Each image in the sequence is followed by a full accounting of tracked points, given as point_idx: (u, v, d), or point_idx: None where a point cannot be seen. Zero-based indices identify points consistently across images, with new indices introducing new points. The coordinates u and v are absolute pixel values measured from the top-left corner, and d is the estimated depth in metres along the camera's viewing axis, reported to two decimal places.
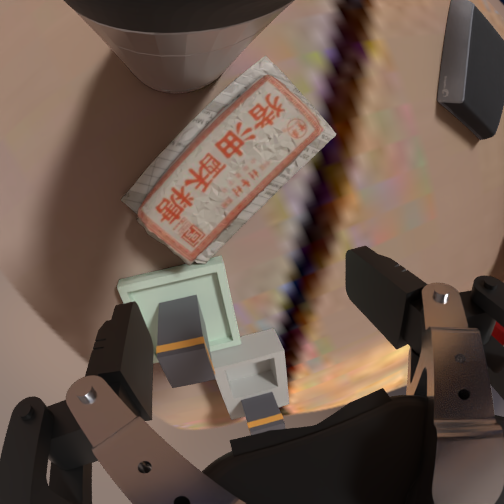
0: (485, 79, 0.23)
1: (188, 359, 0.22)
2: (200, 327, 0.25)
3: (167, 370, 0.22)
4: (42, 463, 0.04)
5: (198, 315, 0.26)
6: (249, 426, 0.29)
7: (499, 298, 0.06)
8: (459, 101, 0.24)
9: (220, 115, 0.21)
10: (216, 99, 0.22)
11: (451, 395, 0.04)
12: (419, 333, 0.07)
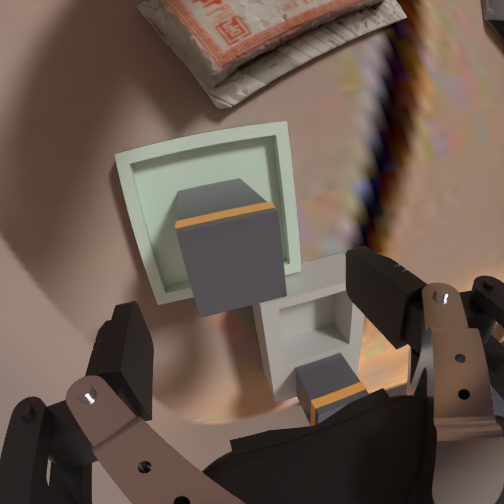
0: None
1: (242, 239, 0.12)
2: (259, 196, 0.14)
3: (195, 269, 0.12)
4: (42, 463, 0.04)
5: (250, 189, 0.15)
6: (316, 405, 0.18)
7: (499, 298, 0.06)
8: None
9: None
10: None
11: (451, 395, 0.04)
12: (419, 333, 0.07)
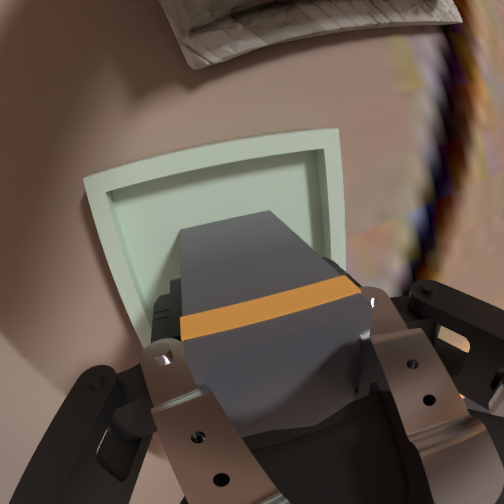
0: None
1: (307, 357, 0.06)
2: (318, 257, 0.08)
3: (221, 404, 0.06)
4: (97, 435, 0.05)
5: (296, 237, 0.10)
6: None
7: (444, 303, 0.07)
8: None
9: None
10: None
11: (416, 405, 0.04)
12: None
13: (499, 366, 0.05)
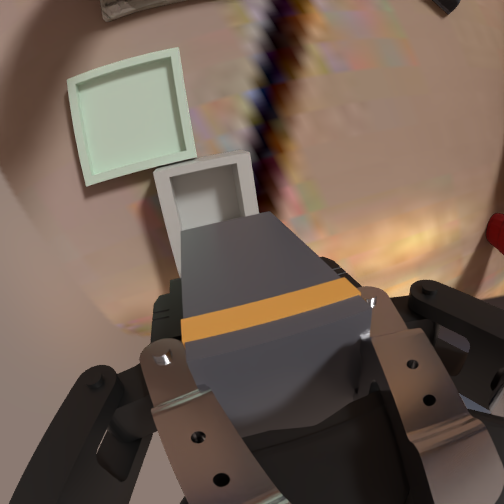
0: None
1: (307, 359, 0.06)
2: (318, 259, 0.08)
3: (221, 406, 0.06)
4: (97, 435, 0.05)
5: (296, 238, 0.10)
6: None
7: (444, 303, 0.07)
8: None
9: None
10: None
11: (416, 405, 0.04)
12: None
13: (499, 366, 0.05)
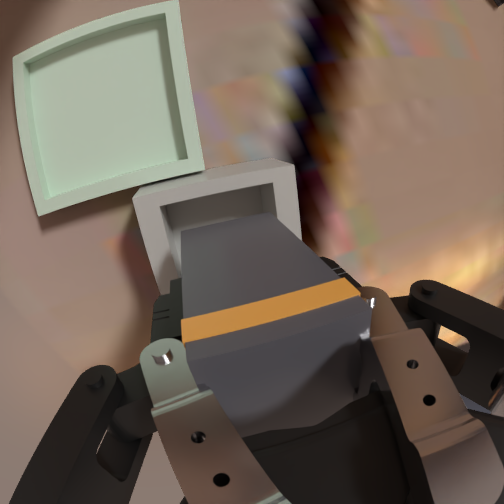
0: None
1: (307, 359, 0.06)
2: (318, 259, 0.08)
3: (222, 405, 0.06)
4: (97, 435, 0.05)
5: (296, 239, 0.10)
6: None
7: (444, 303, 0.07)
8: None
9: None
10: None
11: (416, 405, 0.04)
12: None
13: (499, 366, 0.05)
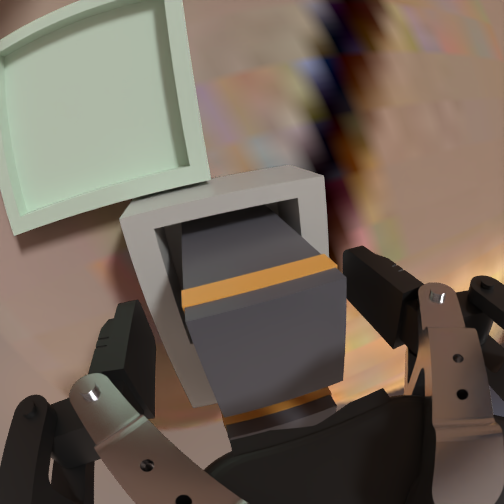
0: None
1: (290, 323, 0.07)
2: (303, 240, 0.09)
3: (216, 366, 0.07)
4: (44, 461, 0.04)
5: (284, 224, 0.11)
6: (227, 420, 0.09)
7: (496, 298, 0.06)
8: None
9: None
10: None
11: (449, 395, 0.04)
12: (415, 333, 0.07)
13: None
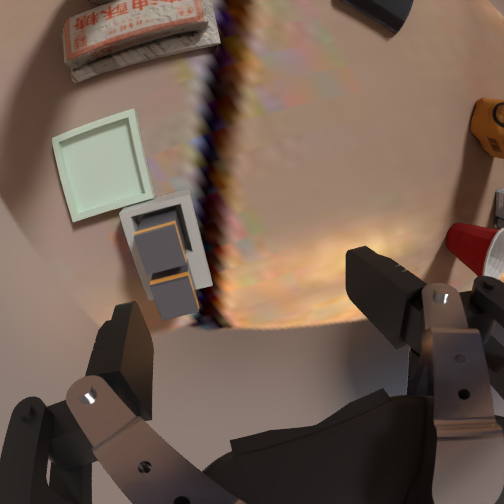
0: None
1: (160, 238, 0.26)
2: (174, 217, 0.28)
3: (142, 252, 0.26)
4: (42, 463, 0.04)
5: (174, 213, 0.30)
6: (151, 283, 0.28)
7: (499, 298, 0.06)
8: None
9: None
10: None
11: (451, 395, 0.04)
12: (419, 333, 0.07)
13: None
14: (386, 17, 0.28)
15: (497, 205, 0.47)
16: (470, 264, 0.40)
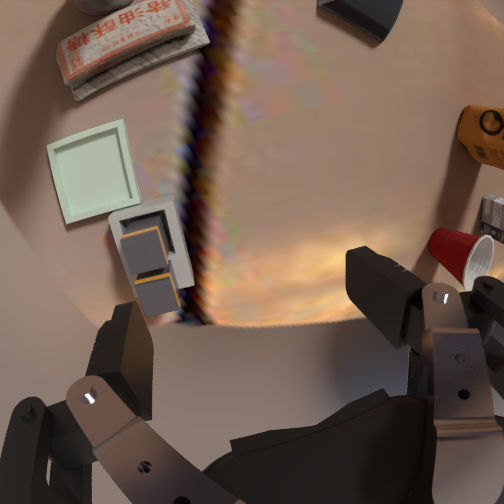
0: None
1: (144, 242, 0.28)
2: (157, 222, 0.30)
3: (127, 254, 0.28)
4: (42, 463, 0.04)
5: (158, 218, 0.32)
6: (136, 282, 0.30)
7: (499, 298, 0.06)
8: None
9: (133, 4, 0.22)
10: None
11: (451, 395, 0.04)
12: (419, 333, 0.07)
13: None
14: (371, 26, 0.30)
15: (483, 211, 0.50)
16: (451, 269, 0.43)
